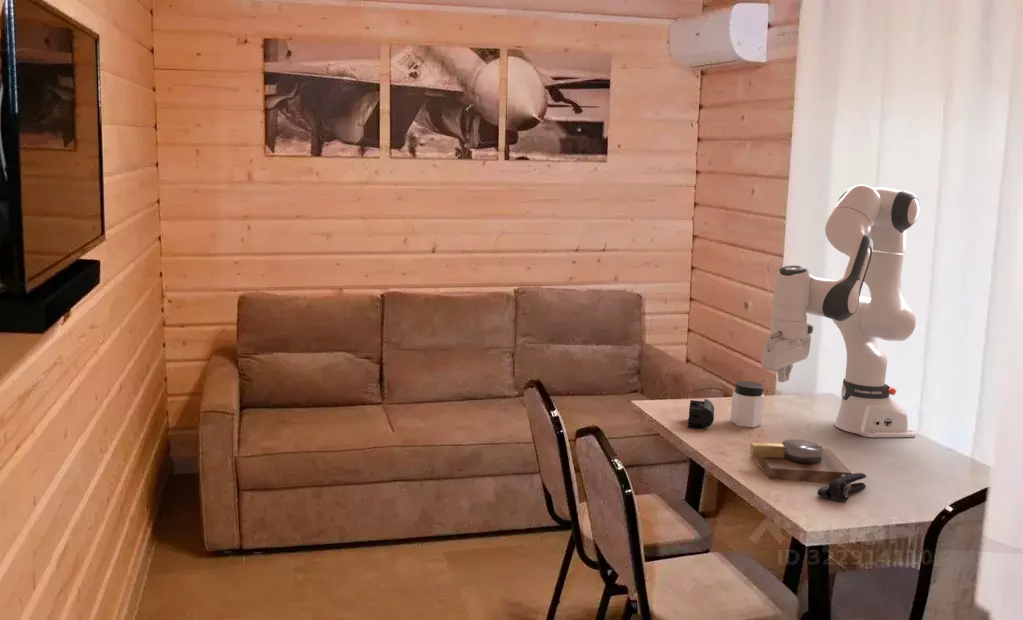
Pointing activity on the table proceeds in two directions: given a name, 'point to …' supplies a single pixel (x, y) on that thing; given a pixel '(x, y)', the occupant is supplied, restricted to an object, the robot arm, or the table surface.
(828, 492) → the can opener
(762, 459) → the base
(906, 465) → the table surface
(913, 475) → the table surface
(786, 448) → the small frying pan
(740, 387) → the jar
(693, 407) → the end cap
